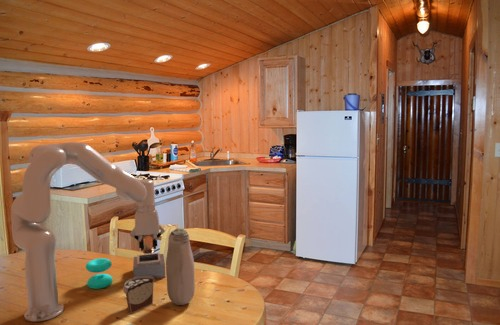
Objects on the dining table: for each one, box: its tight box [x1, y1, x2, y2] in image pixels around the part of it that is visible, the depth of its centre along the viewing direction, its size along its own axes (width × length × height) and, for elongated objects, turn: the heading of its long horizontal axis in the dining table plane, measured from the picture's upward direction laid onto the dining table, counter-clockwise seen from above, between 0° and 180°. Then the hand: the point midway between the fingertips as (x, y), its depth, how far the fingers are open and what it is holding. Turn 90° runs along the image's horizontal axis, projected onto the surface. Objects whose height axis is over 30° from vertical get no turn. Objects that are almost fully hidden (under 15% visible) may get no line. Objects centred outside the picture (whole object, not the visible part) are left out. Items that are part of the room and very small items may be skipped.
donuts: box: [85, 257, 114, 290], centre depth 170 cm, size 10×10×10 cm
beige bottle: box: [165, 228, 196, 306], centre depth 152 cm, size 10×10×28 cm
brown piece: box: [122, 276, 156, 315], centre depth 151 cm, size 12×6×10 cm, turn 141°
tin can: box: [141, 235, 156, 254], centre depth 180 cm, size 5×5×8 cm
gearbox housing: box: [132, 252, 166, 280], centre depth 181 cm, size 13×13×7 cm
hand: (148, 248), depth 180 cm, fingers closed on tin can, 5 cm apart
